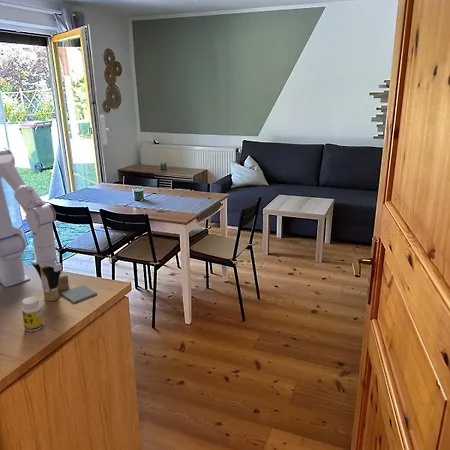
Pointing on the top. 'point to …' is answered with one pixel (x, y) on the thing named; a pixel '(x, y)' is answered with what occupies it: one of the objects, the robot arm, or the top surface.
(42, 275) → the sprinkles bottle
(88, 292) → the grey mat
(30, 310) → the supplement bottle
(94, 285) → the top surface
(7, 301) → the top surface
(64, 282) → the walnut block
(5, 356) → the top surface
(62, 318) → the top surface
